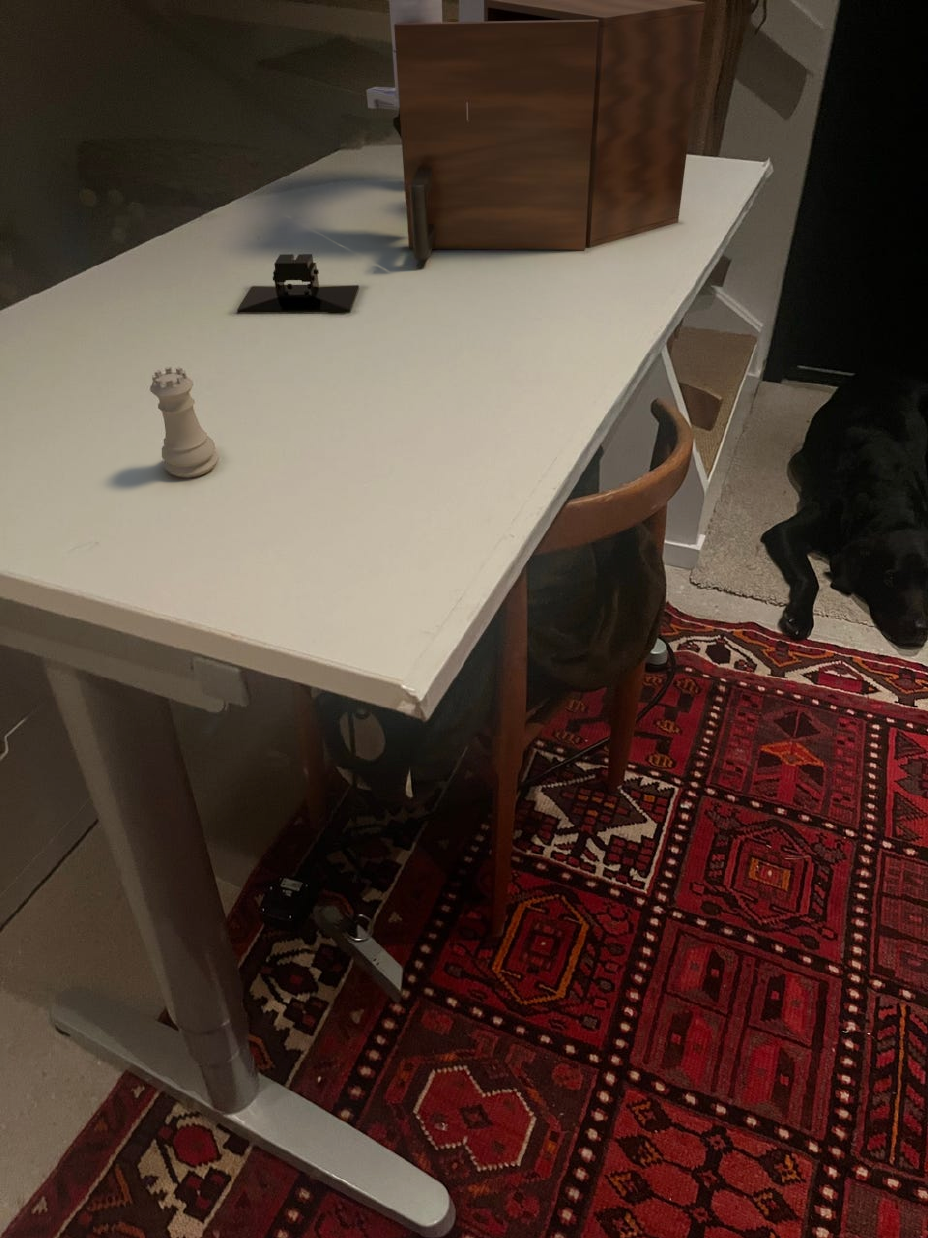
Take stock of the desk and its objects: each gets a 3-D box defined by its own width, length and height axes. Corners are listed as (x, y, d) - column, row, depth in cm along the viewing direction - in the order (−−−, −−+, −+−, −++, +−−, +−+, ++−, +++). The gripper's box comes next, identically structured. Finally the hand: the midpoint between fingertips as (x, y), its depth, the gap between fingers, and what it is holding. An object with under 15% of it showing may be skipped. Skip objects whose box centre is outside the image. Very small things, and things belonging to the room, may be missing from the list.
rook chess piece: (169, 452, 75) (144, 363, 70) (223, 449, 75) (202, 359, 70) (160, 481, 72) (133, 389, 66) (216, 477, 72) (194, 385, 66)
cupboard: (589, 248, 109) (604, 17, 94) (485, 206, 123) (483, -2, 107) (678, 222, 115) (705, 2, 100) (570, 185, 129) (579, -14, 113)
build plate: (359, 288, 102) (355, 247, 98) (350, 315, 96) (345, 271, 93) (252, 288, 102) (244, 246, 99) (236, 314, 97) (228, 271, 94)
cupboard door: (585, 270, 103) (599, 31, 88) (400, 269, 105) (382, 34, 90) (585, 247, 109) (598, 19, 94) (410, 246, 111) (395, 22, 96)
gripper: (345, 50, 101) (357, 179, 110) (450, 60, 94) (454, 197, 103) (384, 40, 105) (393, 165, 114) (487, 49, 99) (488, 181, 108)
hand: (424, 179), depth 109 cm, fingers closed
